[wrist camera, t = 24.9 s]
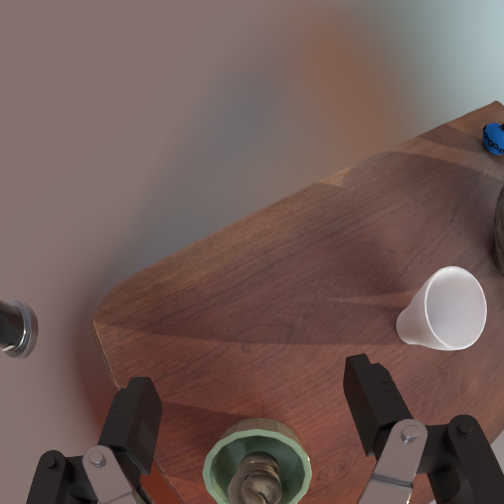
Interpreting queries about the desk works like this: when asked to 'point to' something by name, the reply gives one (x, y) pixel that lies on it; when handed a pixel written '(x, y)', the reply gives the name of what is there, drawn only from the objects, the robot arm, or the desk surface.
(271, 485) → the light bulb
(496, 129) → the ornament
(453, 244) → the desk surface
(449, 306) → the cup
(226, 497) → the pot
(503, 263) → the clay pot
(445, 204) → the desk surface
